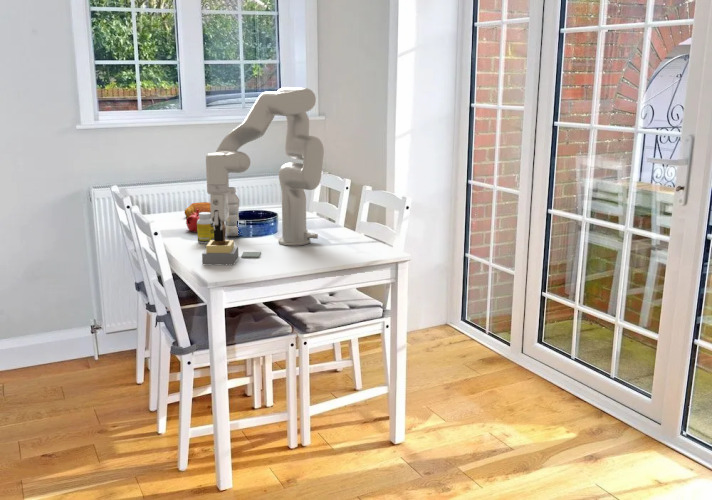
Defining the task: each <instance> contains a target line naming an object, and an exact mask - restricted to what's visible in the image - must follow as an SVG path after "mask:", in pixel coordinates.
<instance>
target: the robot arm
mask: <svg viewBox="0 0 712 500" xmlns="http://www.w3.org/2000/svg"><path fill="white" fill-rule="evenodd" d="M316 99H317V98H316V95H315V92H314V91H313V90H312V89H310V88H308V87H294V86H293V87H291V86H290V87H289V86H286V87H281V88H279V89H278V90H277V91H264V92H261V93H260V94H259V96H258V97H257V98H256V100H255V102H254V104H253V105H252V107H251V109H250V110H249V111H248V114H247V116H246V117H245V119H244V120H243V122H242V123H240V124H239V125H238V126H237V127H235V128H234V129H233V130H231V132H229V133H228V134H227V135H226V136H225V137H224V138H223V139H222V140H221V142H220V143H219V146H218V147H217V148H216V150H215V152H211V153H207V154H206V156H205V166H206V167H205V169H206V171H205V172H206V173H205V174H206V193H207V194H208V195H209V199H210V200H209V201H210V202H209V203H210V210H211V221H212V222H214V241H223V240H224V238H223V230H222V221H223V222H224V225H225V221H226V220H227V219H228V217H229V211H228V198H227V193H229V187H230V183H229V178H230V177H229V174H230V173H232V174H233V173H235V174H242V173H244V172H247V170H248V169H249V168H250V166H251V158H250V157H249V155H248V154H247V153H245V152H244V151H238V150H239V149H241V148H242V147H243V146H244V145H246V144H248V143H250V142H253V141H256V140H258V139H260V138H261V137H263V136H264V135H265V133H266V132H267V130H268V128H269V126H270V125H271V124H272V121H273V120H274V118H275V117H276V116H278V117H279V116H280V117H286V124H287V125H286V133H285V134H286V135H285V148H284V150H285V154H286V156H287V157H288V158H289V159H294V160H297V161H298V160H300V161H302V162H303V163H301V162H291V161H290V162H286V163H284V164H283V165H282V166H281V167H280V168H279V171H278V180H279V185H280V186H279V187H280V190H281V193H280V194H281V219H282V220H281V225H282V226H281V227H282V228H281V229H282V230H281V231H282V233H281V234H282V236H281V237H280V238H279V239H278V244H279V245H280V244H281V245H284V246H289V247H291V246H292V247H293V246H294V247H296V246H305V245H308V244H310V243H311V239H318V238H319V237H318V233H315V232H308V231H309V230H308V229H307V195H306V193H305V190H306V191H312V190H315V189H317V188H318V186H319V185H320V183H321V178H322V173H323V165H324V164H323V162H324V152H325V151H324V144H323V141H322V140H321V139H320V138H319V137H317V136H314V135H310V118H309V115H308V113H307V112H310V111H311V110H312V109H313V108H314V106H316ZM218 220H221V221H218ZM219 223H220V224H219ZM226 236H227V235H226V234H225V238H226Z"/></svg>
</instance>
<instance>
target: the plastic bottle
mask: <svg viewBox="0 0 712 500" xmlns="http://www.w3.org/2000/svg"><path fill="white" fill-rule="evenodd" d="M227 198H228V211H229V217H228V219H227V220H226V221H225V235H226V236H228V237H238V236H239V235H238V234H239V233H238V231H239V230H238V227H237V221H238V220H239V221H240V217H239V213H240V211H239V209H240V208H239V207H240V199H239V196H238V195H237V189H236V187H234V186H229V193H227Z"/></svg>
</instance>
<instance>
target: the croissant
mask: <svg viewBox="0 0 712 500" xmlns="http://www.w3.org/2000/svg"><path fill="white" fill-rule="evenodd" d="M197 209H199V213H201V212H210V213H211V210H210V202H206V201H205V202H202V201H201V202H192V203H191V204H190V205H189V206H188V207H187V208H185V209H184V215H185V218H187V217H189V216H191V215H192V214H194V213H193V212H195V213H196V214H197V211H196V210H197ZM191 213H192V214H191ZM189 214H191V215H189ZM210 218H211V217H210Z"/></svg>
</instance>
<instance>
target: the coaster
mask: <svg viewBox="0 0 712 500" xmlns="http://www.w3.org/2000/svg"><path fill="white" fill-rule="evenodd" d="M261 254H262V251H243V252H242V254H241V256H240V258H241V259H259V258H260V257H261Z"/></svg>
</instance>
